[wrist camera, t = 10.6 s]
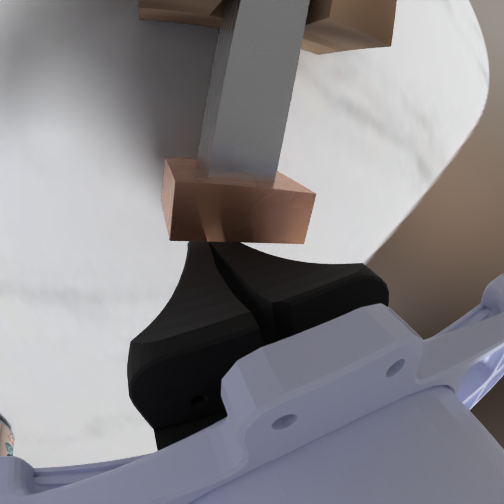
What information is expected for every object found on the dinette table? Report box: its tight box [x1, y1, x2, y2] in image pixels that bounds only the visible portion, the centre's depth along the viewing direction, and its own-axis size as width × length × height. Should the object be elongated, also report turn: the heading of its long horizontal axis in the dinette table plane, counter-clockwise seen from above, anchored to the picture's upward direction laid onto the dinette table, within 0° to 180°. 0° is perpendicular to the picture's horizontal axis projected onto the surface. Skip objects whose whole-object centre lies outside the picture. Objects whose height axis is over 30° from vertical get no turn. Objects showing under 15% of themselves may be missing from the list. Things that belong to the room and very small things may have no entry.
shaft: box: [161, 0, 316, 244], centre depth 8 cm, size 4×10×4 cm, turn 169°
